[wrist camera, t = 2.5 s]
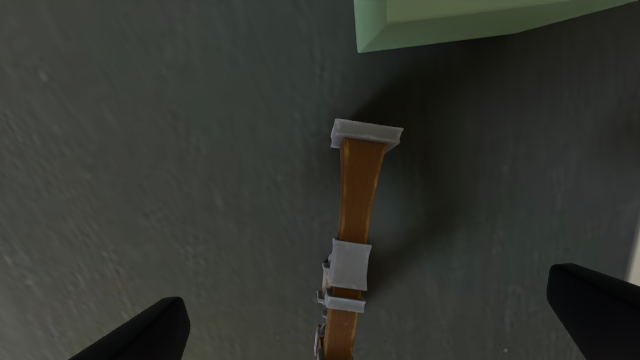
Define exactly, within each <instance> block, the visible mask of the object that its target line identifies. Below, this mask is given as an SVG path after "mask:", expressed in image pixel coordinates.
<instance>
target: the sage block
mask: <svg viewBox="0 0 640 360" xmlns="http://www.w3.org/2000/svg"><path fill="white" fill-rule="evenodd" d="M634 1H638V0H354V10H355V24H356V38H357V51H358V53H364V52H372V51H380V50H388V49H396V48H404V47H411V46H419V45H427V44H435V43H443V42H451V41H459V40H467V39H475V38H483V37H491V36H499V35H507V34H515V33H518V32H522V31H526V30H530V29H533V28H537V27H541V26H545V25H548V24H552V23H556V22H560V21H563V20H567V19H571V18H575V17H578V16H582V15H586V14H589V13H593V12H597V11H601V10H604V9H608V8H612V7H616V6H619V5H623V4H627V3H631V2H634Z"/></svg>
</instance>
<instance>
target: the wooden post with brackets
mask: <svg viewBox="0 0 640 360" xmlns="http://www.w3.org/2000/svg"><path fill="white" fill-rule="evenodd" d="M402 131H403V128H396V127H389V126H383V125H376V124H370V123H363V122H356V121H350V120H343V119H336V120H335V123H334V126H333V129H332V133H331V138H332V144H331V147H334V148H340V159H341V193H340V219H339V228H338V238H333V251H332V253H331V254H330V255H329V258H328V262H329V264H324V263H323V264H322V266H323V270H324V274H323V286H322V291H317V299H318V302H320V303H322V304H324V310H322V316H323V317H324V318H325V319H327V320H326V322H325V323H324V324H322V325H319V324H317V331H316V338H315V347H314V350H315V356H318V359H317V360H354V359H353V356H352V350H353V343H354V337H355V330H356V323H357V316H358V312H361V313H364V305H365V303H366V301H365V300H364V298H363V297H362V295H361V290H365V291H367V282H366V277H367V267H368V258H369V254H370V250H371V247H372V245H370V244H368V243H367V235H368V227H369V219H370V214H371V209H372V204H373V200H374V195H375V190H376V186H377V181H378V176H379V171H380V167H381V164H382V160H383V157H384V154H386V153H387V152H388V151H390V150H391V149H392V148H394V147H395V146H396V145H398V144H399V143H400V140H399V139H400V135H401V132H402Z"/></svg>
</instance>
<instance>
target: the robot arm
mask: <svg viewBox="0 0 640 360" xmlns="http://www.w3.org/2000/svg"><path fill="white" fill-rule="evenodd" d="M546 294H547V300H548V302H549V304H550V306H551V307H552V309H553V310H554V312H555V313H556V315H557V316H558V318H559V319H560V321H561V322H562V324H563V325H564V327H565V328H566V330H567V331H568V333H569V334H570V336H571V337H572V339H573V340H574V342H575V343H576V345H577V346H578V348H579V349H580V351H581V352H582V354H583V355H584V357H585V358H586V360H640V286H637V285H634V284H631V283H629V282H626V281H623V280H620V279H617V278H614V277H611V276H608V275H605V274H602V273H600V272H597V271H594V270H591V269H588V268H585V267H582V266H579V265H576V264H573V263H565V264H555V265H553V266H551V268H550V271H549V278H548V285H547V293H546ZM189 333H190V320H189V317H188V314H187V310H186V307H185V304H184V301H183V299H182V298H181V297H167V298H163V299H161V300H160V301H158V302H157V303H155V304H154V305H152V306H150V307H149V308H147V309H146V310H144V311H143V312H141V313H140V314H138V315H137V316H135V317H133V318H132V319H130V320H129V321H127V322H126V323H124V324H123V325H121V326H119V327H118V328H116V329H115V330H113V331H112V332H110V333H109V334H107V335H106V336H104V337H102V338H101V339H99V340H98V341H96V342H95V343H93V344H92V345H90V346H89V347H87V348H85V349H84V350H82V351H81V352H79V353H78V354H76V355H75V356H73V357H72V358H70V359H68V360H181V358H182V355H183V352H184V349H185V346H186V342H187V339H188V336H189Z"/></svg>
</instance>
